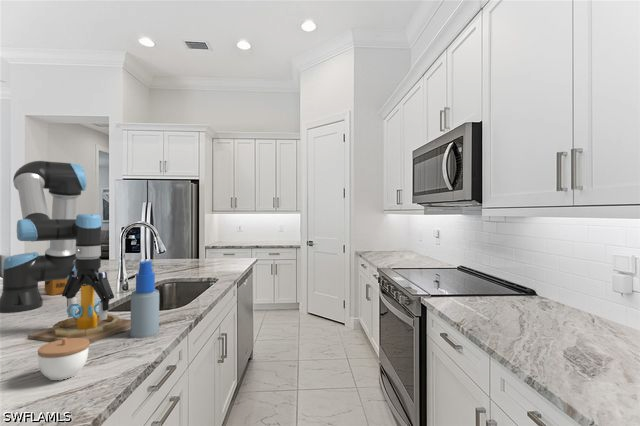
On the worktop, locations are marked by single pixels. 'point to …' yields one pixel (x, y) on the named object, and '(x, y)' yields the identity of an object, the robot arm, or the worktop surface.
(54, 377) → the lidded jar
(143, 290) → the spray bottle
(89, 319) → the cylinder
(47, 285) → the coffee package
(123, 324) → the seat plate
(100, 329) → the tan flat ring
